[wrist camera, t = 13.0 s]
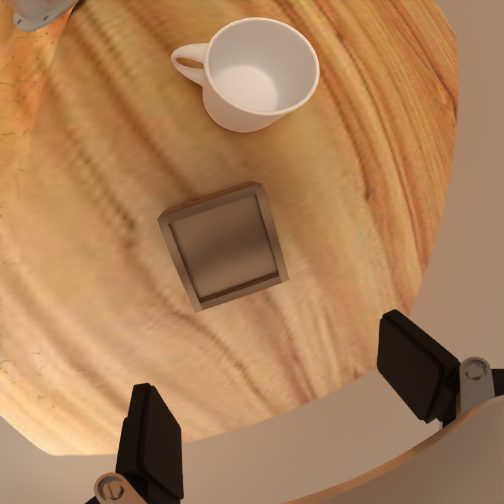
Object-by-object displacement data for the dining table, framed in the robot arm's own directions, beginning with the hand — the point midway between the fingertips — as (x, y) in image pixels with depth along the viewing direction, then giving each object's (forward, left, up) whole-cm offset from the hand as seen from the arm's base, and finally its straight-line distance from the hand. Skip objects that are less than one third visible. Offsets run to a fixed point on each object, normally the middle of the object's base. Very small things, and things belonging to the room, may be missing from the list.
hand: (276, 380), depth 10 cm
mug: (-16, +4, -22) cm, 28 cm away
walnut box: (0, 0, -22) cm, 22 cm away
